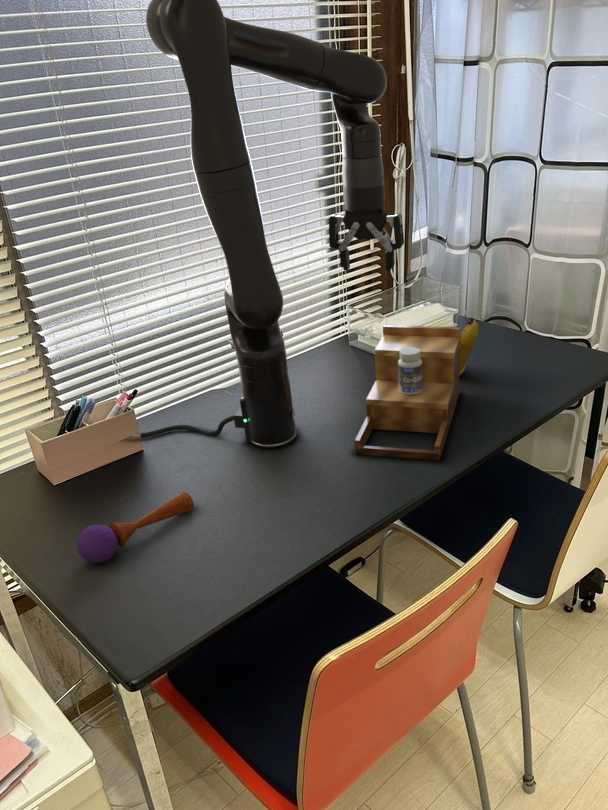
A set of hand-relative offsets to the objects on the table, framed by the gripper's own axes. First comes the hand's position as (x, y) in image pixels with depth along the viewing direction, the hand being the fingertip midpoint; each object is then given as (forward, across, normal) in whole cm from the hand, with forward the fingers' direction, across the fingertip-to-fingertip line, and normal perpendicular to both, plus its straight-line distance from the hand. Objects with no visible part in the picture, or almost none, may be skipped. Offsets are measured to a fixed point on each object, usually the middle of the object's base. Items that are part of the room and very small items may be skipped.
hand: (367, 269), depth 139 cm
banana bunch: (+28, +16, +13) cm, 35 cm away
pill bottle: (+22, +10, -9) cm, 25 cm away
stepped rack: (+28, +10, -10) cm, 31 cm away
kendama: (+28, -26, -55) cm, 67 cm away
